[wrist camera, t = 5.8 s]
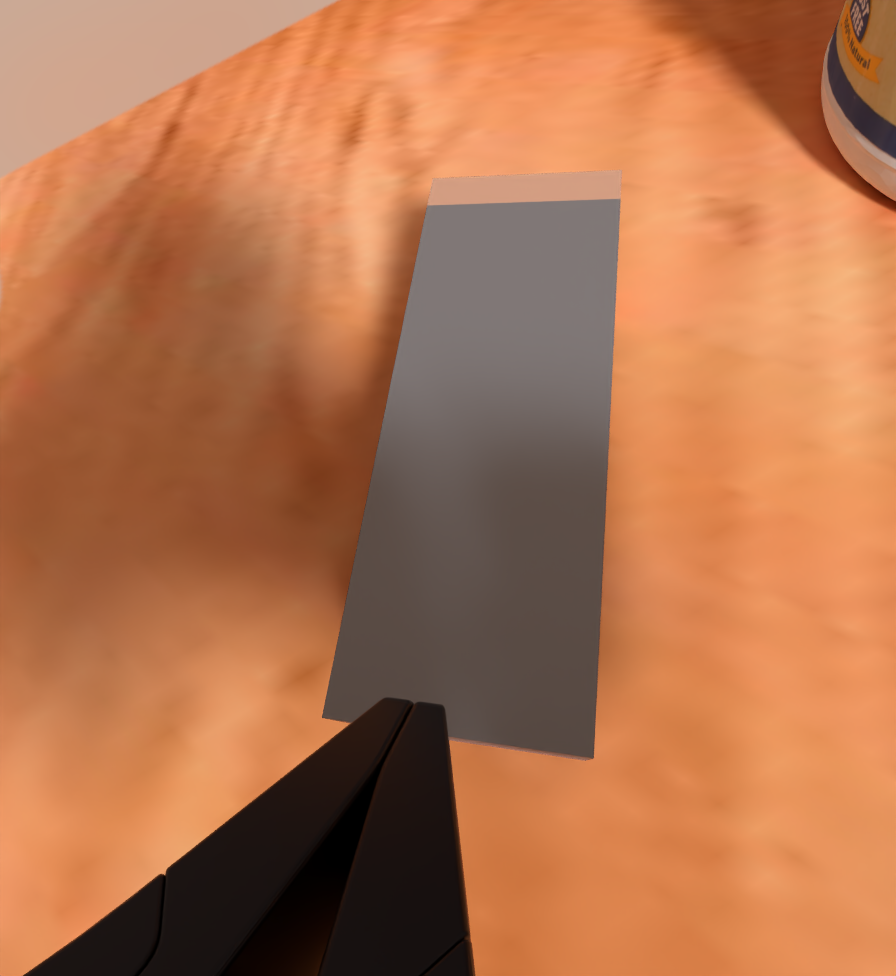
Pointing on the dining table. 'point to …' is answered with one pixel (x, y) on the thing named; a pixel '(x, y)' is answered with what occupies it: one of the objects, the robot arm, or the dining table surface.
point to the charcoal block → (493, 470)
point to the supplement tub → (863, 90)
